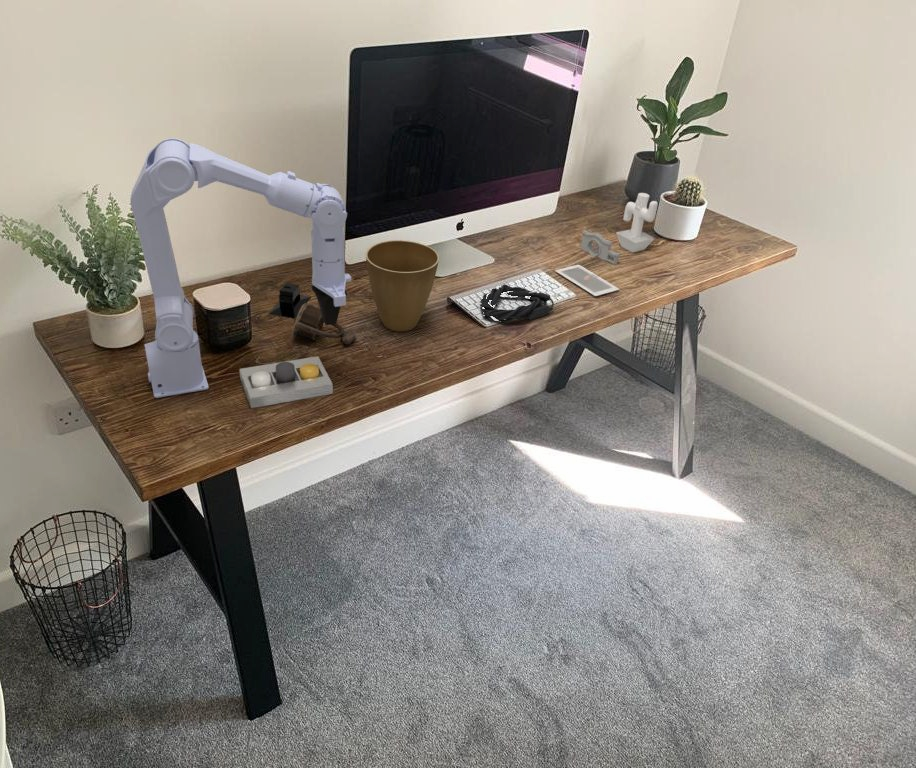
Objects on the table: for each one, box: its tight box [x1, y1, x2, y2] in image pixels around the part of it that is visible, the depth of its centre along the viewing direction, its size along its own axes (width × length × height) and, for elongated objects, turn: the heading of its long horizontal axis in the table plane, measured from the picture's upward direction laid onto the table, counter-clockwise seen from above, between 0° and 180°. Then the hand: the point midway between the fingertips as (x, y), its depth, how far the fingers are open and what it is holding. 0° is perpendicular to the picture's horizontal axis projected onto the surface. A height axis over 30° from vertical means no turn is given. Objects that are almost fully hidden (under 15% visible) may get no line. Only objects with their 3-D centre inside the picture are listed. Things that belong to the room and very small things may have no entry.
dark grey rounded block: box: [276, 361, 296, 384], centre depth 149 cm, size 3×3×3 cm
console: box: [239, 356, 334, 409], centre depth 150 cm, size 15×10×2 cm, turn 113°
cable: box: [479, 283, 555, 323], centre depth 180 cm, size 17×14×4 cm
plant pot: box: [365, 239, 440, 332], centre depth 168 cm, size 15×15×16 cm
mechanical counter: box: [290, 302, 356, 345], centre depth 163 cm, size 7×13×10 cm
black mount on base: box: [267, 282, 312, 319], centre depth 175 cm, size 13×8×5 cm, turn 169°
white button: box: [251, 371, 272, 389], centre depth 148 cm, size 3×3×3 cm
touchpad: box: [554, 264, 620, 297], centre depth 195 cm, size 8×15×2 cm, turn 34°
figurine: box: [615, 192, 659, 254], centre depth 210 cm, size 7×9×15 cm
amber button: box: [300, 363, 319, 380], centre depth 151 cm, size 3×3×3 cm
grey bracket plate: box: [580, 229, 621, 266], centre depth 207 cm, size 12×2×6 cm, turn 42°
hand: (330, 322), depth 150 cm, fingers closed
